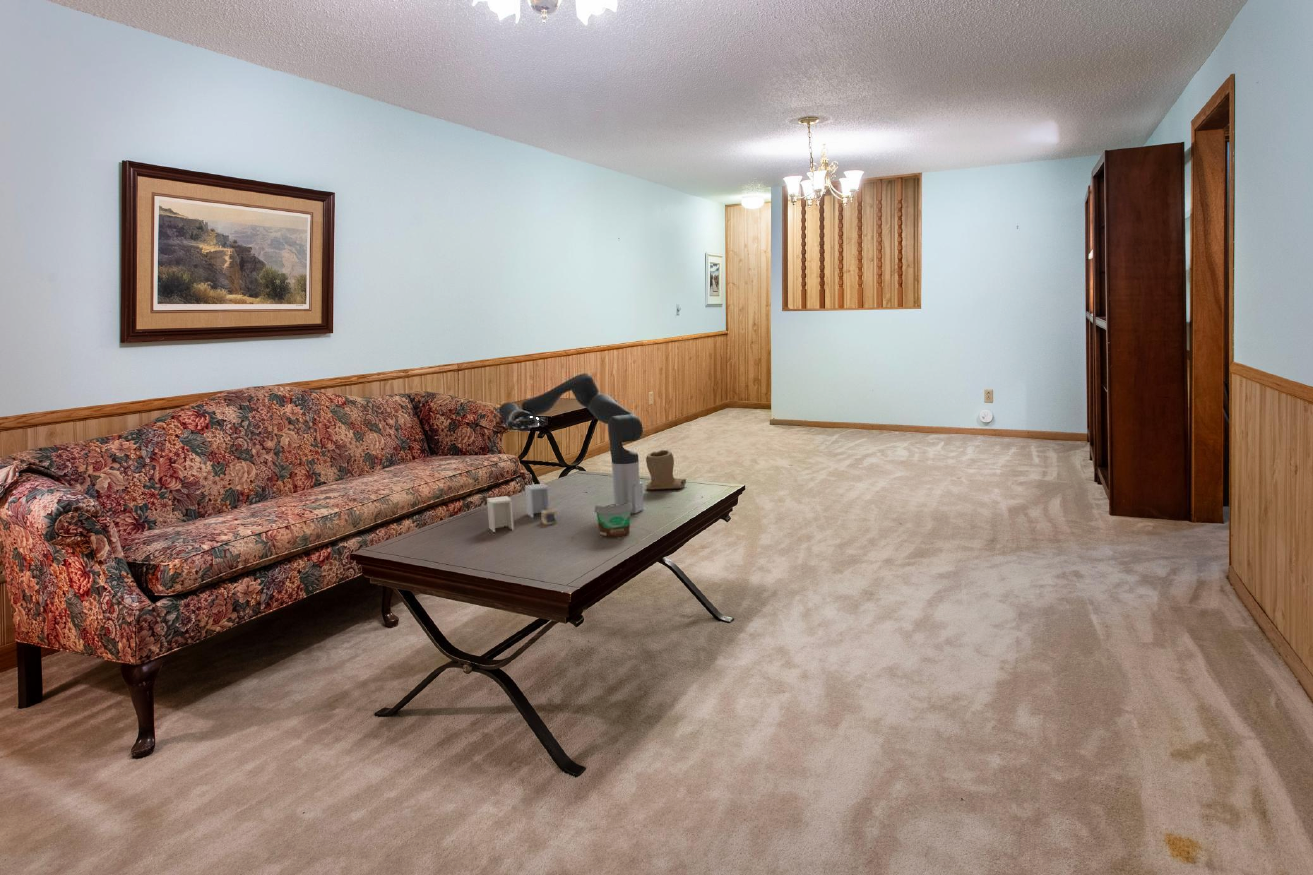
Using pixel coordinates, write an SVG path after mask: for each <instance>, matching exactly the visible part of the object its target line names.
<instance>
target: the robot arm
mask: <svg viewBox="0 0 1313 875" xmlns="http://www.w3.org/2000/svg"><path fill="white" fill-rule="evenodd" d="M570 391H571V392H572V394H573V396H574V397H575V400H576V402H577V403H579V404H580V405H581V406H582V407H584V408H586V409H588V410H589V412H590V413H591V414H592V416H594V418H596V420H598V421H599V422H601V423H603V424H606V425H607V432H608V439H609V451H610V452H609V453H610V457H611V459H610V460H611V472H612V473H611V474H612V475H611V477H612V488H613V490H612V492H613V493H612V494H613V495H612V496H613V504H624V503H628V500H630V502H631V504H632V509H631V510H630V514H637V513H639V512H642V511H643V510H644V498H643V494H644V492H643V482H641V481H640V479H641V478H640V463H639V461H640V460H639V458H640V457H639V454H638V452H636V451H633V450H628V449H625V448H624V445H623V443H629V442H635V441H636V442H637V440H639V439H640V438H641V437H642V436H643V432H644V428H643V423H642V422H641V420H640V418H639V417H638V416H637V414H635V413H634V412H631V411H630V410H628V409H627V408H624V407H623V406H622V405H621V404H619V403H618V402H617V401H616V400H615V399H614V398H613V397H612V396H610V395H608V394H606V393H601V392H600V390H599V388H598V386H597V384H596V382H595V380H594V379H593V376H592V375H591V374H590V373H585V372H582V373H580V374H578V375H575V376H572V377H571V378H569V379H567V380H566V381H564V382H562V383H560V384H559V385H557V386H555V387H553V388H552V389H550V390H548V391H546V392H544V393H542V394H540V395H537V396H533V397H531V398H529V399H526V400H524V401H523V402H522V403H521V409H520V408H519V406H518V405H517V404H516V403H514V402H510V401H509V402H504V403H503V404H501V405H500V406H499V408H498V413H499V416H500V418H501V420H502V422H503V424H504V426H505V428H506V429H507V430H511V431H512V430H517V431H519V432H528V431H530V430H531V429H532V428H537V427H543V428H544V427H545V426H548V425H549V421H548V417H545V416H540V415H542V414H545V413H547V412H549V411H550V410H551V409H552V408H553V407H554V406H555V404H556V403H557V402H558V400H559V399H560V398H561V397H562V396H563V395H564V394H566V393H568V392H570ZM537 416H540V417H537Z"/></svg>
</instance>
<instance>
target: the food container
mask: <svg viewBox="0 0 1313 875" xmlns="http://www.w3.org/2000/svg"><path fill="white" fill-rule="evenodd" d="M631 509H632V504H631V502H630V500H628V503H624V504H614V503H612V504H609V505H606V506H602V505H595V507H594V513H596V517H597V524H598V532H599V537H600V536H602V537H601V538H604V537H605V539H619V538H618V537H621V538H624V537H623V536H625V537H627V536H629V535H630V528H631V527H630V524H631V513H630V510H631Z"/></svg>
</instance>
